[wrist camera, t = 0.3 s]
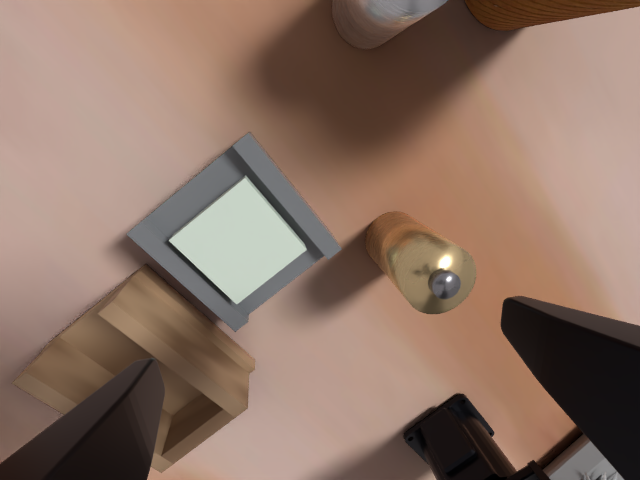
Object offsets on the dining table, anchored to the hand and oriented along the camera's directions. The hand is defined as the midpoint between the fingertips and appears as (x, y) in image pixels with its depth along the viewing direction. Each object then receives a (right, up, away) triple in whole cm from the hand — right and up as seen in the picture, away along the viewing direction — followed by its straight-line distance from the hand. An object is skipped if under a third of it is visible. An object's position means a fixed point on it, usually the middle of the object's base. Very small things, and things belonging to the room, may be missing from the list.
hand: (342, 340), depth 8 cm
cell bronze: (+4, +3, +14) cm, 15 cm away
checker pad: (-5, +3, +10) cm, 11 cm away
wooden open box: (-11, -5, +14) cm, 19 cm away
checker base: (-5, +3, +12) cm, 14 cm away
